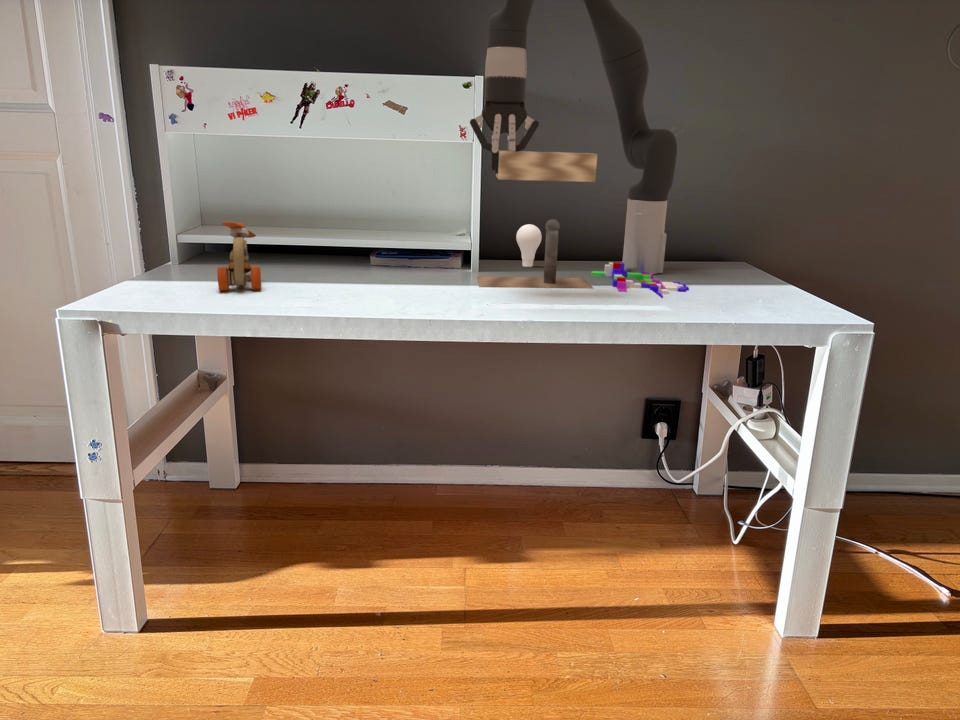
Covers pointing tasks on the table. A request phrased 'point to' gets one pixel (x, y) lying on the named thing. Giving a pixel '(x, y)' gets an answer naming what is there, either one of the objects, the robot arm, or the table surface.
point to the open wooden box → (547, 166)
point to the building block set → (644, 277)
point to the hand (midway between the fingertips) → (502, 173)
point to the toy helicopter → (238, 261)
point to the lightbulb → (528, 243)
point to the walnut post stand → (549, 269)
